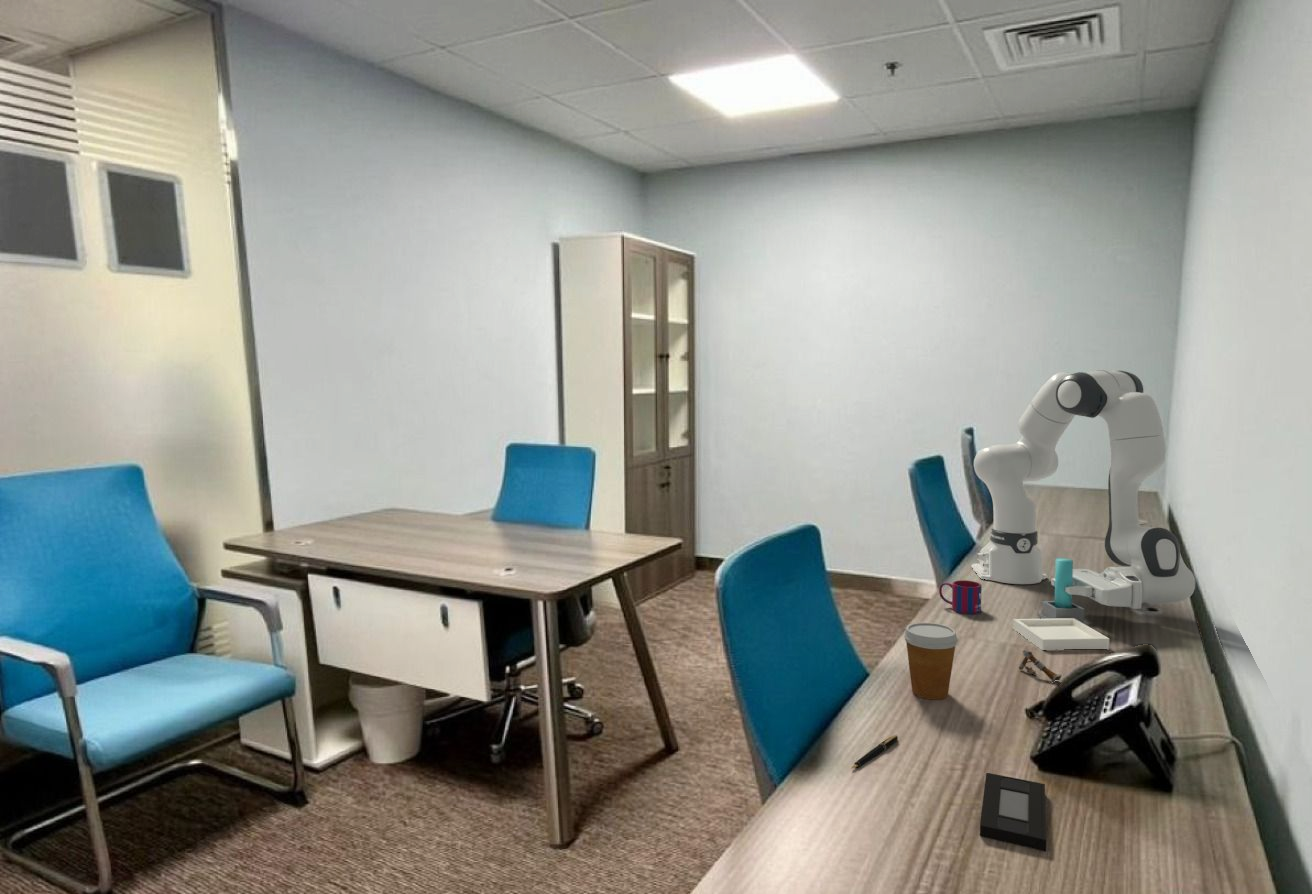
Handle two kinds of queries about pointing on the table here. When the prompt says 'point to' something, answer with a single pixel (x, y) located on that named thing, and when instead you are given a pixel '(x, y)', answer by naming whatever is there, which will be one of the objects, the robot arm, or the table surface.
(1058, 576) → the dowel
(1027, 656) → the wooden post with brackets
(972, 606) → the cup
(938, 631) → the disposable coffee cup
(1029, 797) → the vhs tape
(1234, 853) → the table surface
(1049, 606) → the holder
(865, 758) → the fountain pen
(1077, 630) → the tray
